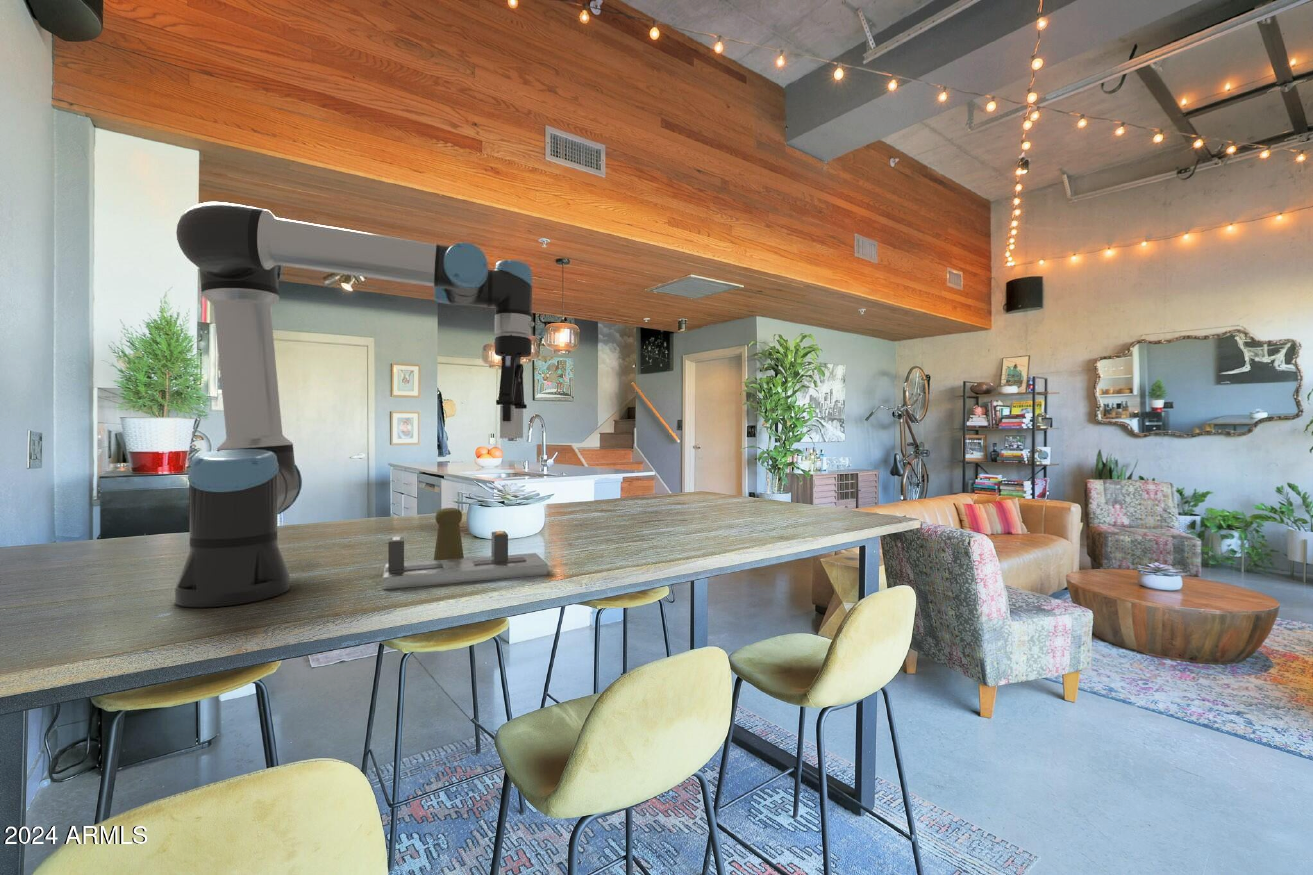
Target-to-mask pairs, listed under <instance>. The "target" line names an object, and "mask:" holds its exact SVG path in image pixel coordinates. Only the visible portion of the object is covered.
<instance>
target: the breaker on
mask: <svg viewBox="0 0 1313 875" xmlns="http://www.w3.org/2000/svg"><path fill="white" fill-rule="evenodd" d="M387 548H388V552H387V554H388V559H387V560H388V562H387V564H388V571H389V570H401V569H404V563H405V537H403V536H402V537H401V536H393V537H389V538H388V546H387Z"/></svg>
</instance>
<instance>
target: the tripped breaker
mask: <svg viewBox="0 0 1313 875" xmlns="http://www.w3.org/2000/svg"><path fill="white" fill-rule="evenodd" d="M490 549H491V558H492V559H493V561H494V562H502V561H508V555H509V534H508V533H507V532H506V531H505V530H504V531H503V530H496V531H491V548H490Z"/></svg>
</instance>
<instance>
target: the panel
mask: <svg viewBox="0 0 1313 875" xmlns="http://www.w3.org/2000/svg"><path fill="white" fill-rule="evenodd" d="M548 567H549V565H548V563H547V562H546V561H545V560H544V559H543V558H542V557H541V556H539V554H538V553H537V552H531V553H520V554H519V553H518V554H508V561H502V562H494V561H493V559H492V558H491V556H479V557H477V556H475V557H464V558H463V559H449V560H436V561H434V560H425V561H411V562H404V569H401V570H389V571H388V563H385V564H384V567H383V568H384V570H383V575H382V590H392V589H394V590H395V589H405V588H413V587H424V586H425V587H427V586H437V585H448V584H459V583H469V582H481V581H492V580H493V581H494V580H501V579H513V578H526V577H537V576H545V575H549V574H548V572H549V571H548V569H549V568H548Z"/></svg>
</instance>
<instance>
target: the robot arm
mask: <svg viewBox="0 0 1313 875" xmlns="http://www.w3.org/2000/svg"><path fill="white" fill-rule="evenodd" d="M175 233H176V240H177V243H178V246H179V248H180V251H182V253H183V255H184V256H185V257H186V258H187V259H188V261H190V262H191V263H192V264H193V265H195V266H196V267H197V268H198V269H199V278H200V279H199V280H200V290H201V297H203V298H204V299H205V300H207V302H209V303H210V304H212V306H213V316H214V323H215V333H216V334H215V336H216V343H217V355H218V364H219V376H220V386H221V394H222V404H223V405H222V406H223V407H222V408H223V416H224V427H225V435H226V436H225V437H226V438H225V439H224V441H223V442H222V443H221V444H220V445H219V446H218V447H217V448H216V451H215V450H211V451H207V452H203V453H199V454H197V455H196V456H194V457H193V458H192V459H191V460H190V463H189V472H188V475H187V481H188V484H189V486H188V492H189V496H188V498H189V499H188V500H189V501H188V502H189V503H188V506H189V508H188V509H189V510H188V511H189V520H188V521H189V529H188V530H189V552H188V554H187V557H186V560H185V563H184V565H183V568H182V570H181V572H180V574H179V575H180V576H179V578H178V580H177V583H176V585H175V589H174V599H175V600H174V603H175V604H176V605H177V606H180V607H186V608H215V607H218V608H219V607H224V606H225V607H227V606H228V607H229V606H235V605H236V606H237V605H243V604H248V603H252V602H253V603H254V602H257V601H258V602H259V601H262V600H266V599H267V600H268V599H271V598H274V597H277V596H280V595H283V594H284V593H286V592H287V591H289V590H290V588H291V587H290V586H291V581H290V580H291V576H290V572H289V570H288V567H287V565H286V562H285V559H284V557H283V554H282V551H281V550H280V547H279V543H278V531H279V530H278V527H279V526H278V522H279V521H278V515H281V514H282V513H284V512H285V511H286V510H288V509H289V508H291V506H292V505H293V504H294V503H295V502H296V501H297V499H298V497H299V496H300V494H301V490H302V486H303V479H302V478H303V477H302V475H301V471H300V469H299V468H298V466H297V464H296V461H295V453H294V452H295V451H294V443H293V442H292V441H291V440H290V439H288V438H287V437H285V435H284V434H283V426H282V416H281V404H280V395H279V394H280V392H279V383H278V372H277V363H276V362H277V361H276V351H275V343H274V329H273V328H274V327H273V319H272V309H271V308H272V307H273V306H274V305H275V304H276V303H277V302H278V301H279V300H280V293H279V290H280V289H279V281H280V279H281V277H282V273H283V266H284V267H290V268H299V269H306V270H314V271H321V272H327V273H333V274H334V273H335V274H342V275H349V276H357V277H363V278H371V279H378V280H386V281H393V282H398V283H399V282H400V283H406V284H407V283H408V284H413V285H415V284H416V285H422V286H430V287H433V292H434V293H433V297H434V301H436V302H437V303H440V304H447V305H451V306H456V305H457V306H458V305H459V306H469V307H470V306H471V307H483V308H484V307H485V308H486V307H487V308H494V334H495V335H496V337H495V338H494V355H496V356H498V357H501V369H500V370H501V372H500V379H499V389H498V390H499V391H498V397H497V399H496V400H495V404H496V406H499V410H500V411H499V439H523V438H524V409H525V410H526V409H527V404H526V403H525V391H524V388H525V387H524V370H525V369H524V365H523V363H521V358H529V357H531V356H532V339H531V338H530V337H531V336H532V327H534V326H535V322H534V321H532V317H533V316H532V311H533V310H532V309H533V287H534V286H533V281H532V280H533V276H532V268H531V266H530V265H529V264H528V263H526V262H523V261H519V260H516V259H509V260H508V259H504V260H500V261H497V262H496V264H495V267H494V269H489V265H488V258H487V256H486V255H485V253H484V251H483V250H482V249H481V248H480V247H479V246H477V245H475V244H473V243H470V242H466V241H462V242H457V243H455V244H452V245H451V246H450V245H446V244H436V243H431V242H425V241H419V240H414V239H413V240H412V239H408V238H407V239H405V238H402V237H401V238H400V237H394V236H387V235H382V234H376V233H370V232H364V231H359V230H353V229H346V228H342V227H335V226H328V225H322V224H316V223H310V222H305V221H298V220H293V219H287V218H281V217H276V216H275V215H274V214H273V213H272V212H271V211H270V210H269V209H265V208H259V207H254V206H249V205H247V206H246V205H243V204H237V203H229V202H221V201H220V202H219V201H207V202H203V203H198V204H196V205H194V206H191V207H190V208H188V209H187V210H186V211H185V212H183V214H182V215H181V216H180V218H179V220H178V222H177V225H176V232H175Z"/></svg>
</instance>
